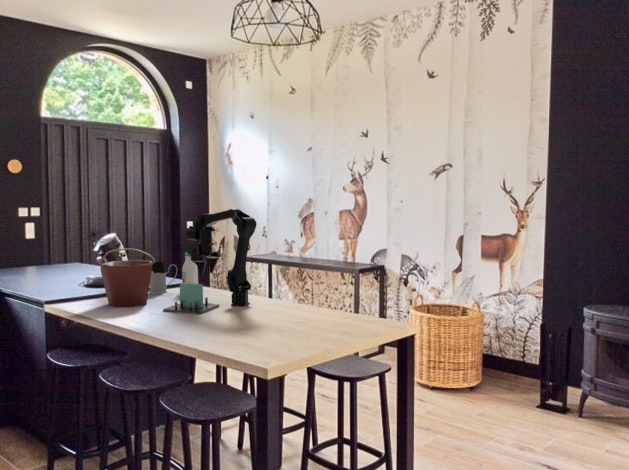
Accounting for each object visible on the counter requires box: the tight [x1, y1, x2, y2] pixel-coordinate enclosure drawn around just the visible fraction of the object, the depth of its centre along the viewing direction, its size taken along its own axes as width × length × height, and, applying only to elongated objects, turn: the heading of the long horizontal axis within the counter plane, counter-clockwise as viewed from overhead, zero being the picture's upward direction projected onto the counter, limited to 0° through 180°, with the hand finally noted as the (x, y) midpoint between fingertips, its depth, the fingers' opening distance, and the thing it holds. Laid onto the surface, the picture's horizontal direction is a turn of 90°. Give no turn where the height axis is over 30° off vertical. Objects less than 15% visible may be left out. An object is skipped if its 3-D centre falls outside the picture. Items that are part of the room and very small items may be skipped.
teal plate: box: [179, 282, 204, 308], centre depth 249 cm, size 10×2×10 cm, turn 72°
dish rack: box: [162, 296, 220, 315], centre depth 249 cm, size 18×16×4 cm
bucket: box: [96, 247, 156, 308], centre depth 262 cm, size 24×22×25 cm
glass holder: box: [148, 261, 178, 295], centre depth 291 cm, size 9×14×15 cm, turn 115°
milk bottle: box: [181, 252, 199, 284], centre depth 291 cm, size 8×8×20 cm
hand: (206, 274), depth 270 cm, fingers open, 9 cm apart
